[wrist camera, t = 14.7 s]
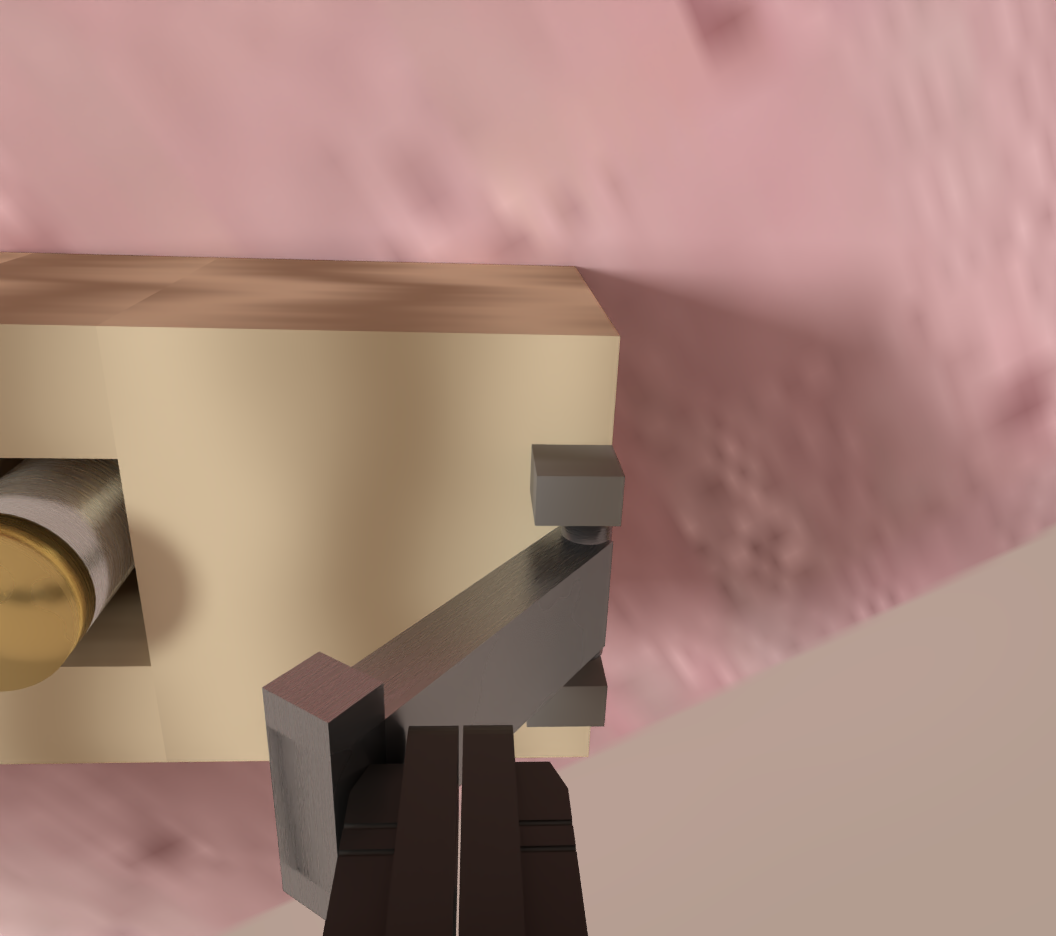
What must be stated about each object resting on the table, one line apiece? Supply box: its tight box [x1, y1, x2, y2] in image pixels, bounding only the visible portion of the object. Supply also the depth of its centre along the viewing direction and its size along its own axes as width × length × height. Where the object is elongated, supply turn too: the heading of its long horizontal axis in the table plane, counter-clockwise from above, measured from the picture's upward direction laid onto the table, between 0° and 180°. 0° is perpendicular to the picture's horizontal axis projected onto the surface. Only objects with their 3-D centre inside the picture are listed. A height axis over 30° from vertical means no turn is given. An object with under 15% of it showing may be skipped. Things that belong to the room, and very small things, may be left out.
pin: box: [0, 458, 135, 692], centre depth 20 cm, size 3×3×10 cm
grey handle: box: [262, 526, 613, 920], centre depth 15 cm, size 8×4×1 cm
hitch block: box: [0, 252, 625, 764], centre depth 20 cm, size 16×10×10 cm, turn 88°
